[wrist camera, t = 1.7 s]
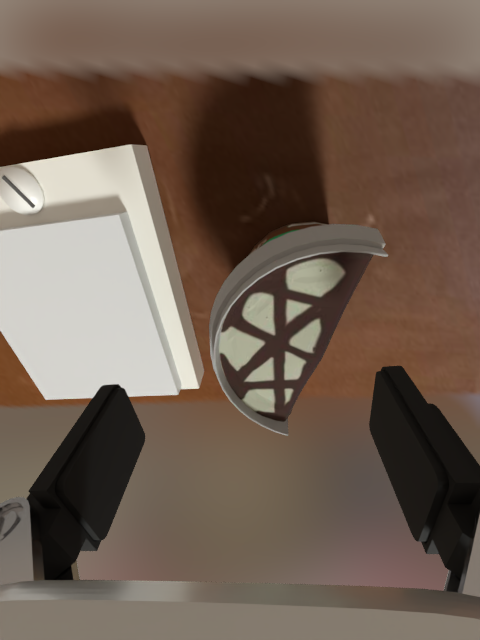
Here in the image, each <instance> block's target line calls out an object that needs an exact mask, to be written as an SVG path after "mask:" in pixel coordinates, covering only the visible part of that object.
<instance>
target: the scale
mask: <svg viewBox="0 0 480 640" xmlns="http://www.w3.org/2000/svg"><path fill="white" fill-rule="evenodd" d="M0 331H1V332H2V334H3V335H4V337H5V338H6V340H7V342H8V343H9V345H10V346H11V348H12V349H13V351H14V352H15V354H16V355H17V357H18V358H19V360H20V361H21V363H22V364H23V366H24V367H25V369H26V370H27V372H28V374H29V375H30V377H31V378H32V380H33V381H34V383H35V384H36V386H37V387H38V389H39V390H40V392H41V393H42V395H43V396H44V398H45V399H46V400H49V399H76V398H93V397H94V396H95V394H96V393H97V391H98V390H99V388H100V387H101V386H103V385H112V384H119V385H120V386H121V388H124V389H125V391H126V393H127V395H128V397H129V396H156V395H178V394H179V392H180V389H197V388H199V387H200V384H201V380H202V377H203V374H204V368H203V364H202V360H201V356H200V352H199V348H198V344H197V341H196V337H195V333H194V329H193V325H192V321H191V317H190V313H189V309H188V305H187V301H186V297H185V293H184V290H183V286H182V282H181V278H180V274H179V270H178V266H177V262H176V258H175V254H174V250H173V246H172V242H171V238H170V235H169V231H168V227H167V223H166V219H165V215H164V211H163V207H162V203H161V199H160V195H159V191H158V187H157V183H156V180H155V176H154V172H153V168H152V164H151V160H150V156H149V152H148V148H147V146H146V145H134V144H130V145H125V146H119V147H113V148H107V149H101V150H96V151H90V152H84V153H78V154H73V155H67V156H61V157H55V158H50V159H44V160H38V161H32V162H26V163H21V164H15V165H9V166H3V167H0Z"/></svg>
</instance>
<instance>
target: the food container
mask: <svg viewBox="0 0 480 640" xmlns="http://www.w3.org/2000/svg"><path fill="white" fill-rule="evenodd" d="M384 246H385V242H384V240H383V238H382V236H381V234H380V232H379V231H378V229H375V228H370V227H365V226H360V225H345V224H330V225H329V224H325V223H320V222H315V221H310V222H299V223H290V224H288V225H285V226H283V227H281V228H278V229H276V230H273V231H271V232H270V233H269V234H267V235H266V236H265V237H264V238H263V239H262V240H260V241H259V242H258V243H257V244H256V245H255V246H254V248H253V249H252V251H251V252H250V254H249V255H248V256H247V257H246V258H245V259H244V260H243V261H242V262H241V263H240V264H238V265H237V266H236V267H235V269H234V270H233V271H232V272H231V274H230V275H229V276H228V277H227V279H226V280H225V281H224V283H223V285H222V287H221V289H220V290H219V292H218V294H217V296H216V299H215V302H214V305H213V308H212V311H211V317H210V324H209V334H210V354H211V359H212V364H213V368H214V371H215V373H216V375H217V378H218V380H219V383H220V385H221V387H222V389H223V391H224V392H225V394H226V395H227V397H228V398H229V400H230V401H231V402H232V403H233V404H234V406H235V407H237V409H238V410H239V411H240V412H242V413H243V414H244V415H245V416H247V417H248V418H249V419H251V420H252V421H254V422H256V423H257V424H259V425H261V426H263V427H265V428H267V429H269V430H272V431H274V432H277V433H280V434H283V435H286V436H287V435H288V416H289V415H290V414H291V411H292V408H293V406H294V404H295V402H296V400H297V398H298V396H299V394H300V393H301V391H302V389H303V387H304V386H305V384H306V382H307V381H308V379H309V378H310V376H311V375H312V373H313V372H314V370H315V369H316V367H317V365H318V364H319V362H320V361H321V359H322V357H323V355H324V353H325V351H326V349H327V346H328V344H329V342H330V340H331V337H332V335H333V333H334V331H335V329H336V326H337V324H338V322H339V320H340V318H341V316H342V314H343V312H344V310H345V308H346V306H347V304H348V302H349V300H350V298H351V296H352V294H353V292H354V290H355V289H356V287H357V285H358V283H359V281H360V279H361V277H362V275H363V273H364V271H365V270H366V268H367V266H368V264H369V262H370V260H371V258H372V256H373V254H374V255H379V256H385V257H387V256H388V254H387V253H386V252H385V251H384V250H383V248H384Z"/></svg>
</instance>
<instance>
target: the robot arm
mask: <svg viewBox="0 0 480 640" xmlns="http://www.w3.org/2000/svg"><path fill="white" fill-rule="evenodd" d="M369 425H370V431H371V435H372V437H373V439H374V442H375V445H376V447H377V449H378V452H379V454H380V457H381V459H382V462H383V464H384V467H385V469H386V472H387V474H388V476H389V479H390V481H391V484H392V486H393V489H394V491H395V494H396V496H397V499H398V501H399V504H400V506H401V508H402V510H403V513H404V516H405V518H406V521H407V523H408V526H409V528H410V531H411V533H412V535H413V537H414V538H415V540H416V541H421V542H422V545H423V547H424V549H425V552H426V554H439V555H440V557H441V559H442V561H443V563H444V565H445V567H446V568H447V569H448V570H449V572H448V576H447V580H446V584H445V587H444V591H438V590H428V589H415V588H394V587H372V586H345V585H343V586H342V585H308V584H307V585H306V584H270V583H269V584H268V583H226V582H223V583H222V582H180V581H177V582H176V581H121V580H120V581H119V580H80V577H79V572H78V566H77V560H76V559H77V557H78V555H79V552H80V551H97V549H98V547H99V544H100V542H101V540H103V539H105V537H106V536H107V534H108V531H109V529H110V527H111V524H112V522H113V519H114V517H115V514H116V512H117V509H118V506H119V504H120V502H121V499H122V497H123V494H124V492H125V489H126V487H127V484H128V482H129V479H130V477H131V474H132V472H133V469H134V467H135V465H136V462H137V459H138V457H139V455H140V452H141V450H142V447H143V445H144V442H145V433H144V431H143V428H142V426H141V424H140V422H139V420H138V418H137V415H136V413H135V411H134V408H133V406H132V404H131V402H130V400H129V397H128V395H127V393H126V391H125V389H124V388H121V386H120V385H119V384H112V385H103V386H101V387H100V388H99V390H98V391H97V393H96V394H95V396H94V397H93V399H92V400H91V401H90V403H89V404H88V406H87V407H86V409H85V410H84V412H83V413H82V415H81V416H80V418H79V419H78V420H77V422H76V423H75V425H74V426H73V427H72V429H71V431H70V432H69V433H68V435H67V436H66V438H65V439H64V441H63V442H62V443H61V445H60V446H59V448H58V449H57V451H56V452H55V454H54V455H53V456H52V458H51V459H50V461H49V462H48V464H47V465H46V467H45V468H44V469H43V471H42V472H41V474H40V475H39V477H38V478H37V480H36V481H35V483H34V484H33V486H32V487H31V488H30V490H29V492H30V495H29V496H28V497H27V499H25V498H23V497H16V498H11V499H9V500H7V501H4V502H2V503H0V640H480V466H479V464H478V463H477V461H476V460H475V459H474V457H473V456H472V454H471V453H470V452H469V450H468V449H467V448H466V446H465V445H464V443H463V442H462V440H461V439H460V438H459V436H458V435H457V433H456V432H455V431H454V429H453V428H452V426H451V425H450V424H449V422H448V421H447V420H446V418H445V417H444V416H443V414H442V413H441V411H440V410H439V409H438V408H437V406H435V405H434V404H428V403H427V402H426V400H425V399H424V398H423V396H422V395H421V393H420V392H419V390H418V389H417V387H416V386H415V384H414V383H413V382H412V380H411V379H410V377H409V376H408V374H407V373H406V371H405V370H404V368H403V367H402V366H389V367H382V369H381V371H378V372H377V373H376V378H375V385H374V393H373V400H372V409H371V416H370V424H369Z"/></svg>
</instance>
